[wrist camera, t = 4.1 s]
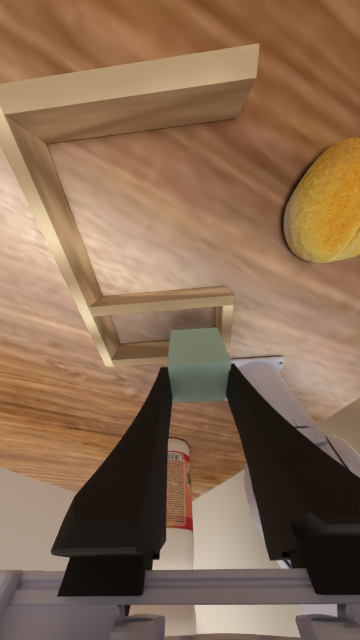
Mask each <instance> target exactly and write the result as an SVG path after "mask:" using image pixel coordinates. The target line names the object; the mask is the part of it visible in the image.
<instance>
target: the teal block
mask: <svg viewBox="0 0 360 640" xmlns="http://www.w3.org/2000/svg"><path fill="white" fill-rule="evenodd" d="M167 366H168V372H169V378H170V384H171V390H172V396H173V403H179V402H199V401H219V400H226V398H227V397H226V389H227V382H228V374H229V371H230V369H231V359H230V357H229V355H228V352H227V350H226V347H225V345H224V343H223V340H222V338H221V336H220V333H219V331H218V328H217V327H212V328H197V329H181V330H171V332H170V343H169V354H168V365H167Z"/></svg>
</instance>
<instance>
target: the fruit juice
mask: <svg viewBox="0 0 360 640" xmlns="http://www.w3.org/2000/svg"><path fill="white" fill-rule="evenodd" d="M193 559H194V540H193V521H192V497H191V474H190V452H189V447H188V444H187V443H186V442H184V441H182V440H180V439H175V438H168V461H167V512H166V542H165V544H164V545H163V547H162V549H161V550H160V559H159V560H153V567H152V570H192V569H193ZM135 614H155V615H163V616H164V617H165V637H166V636H180V635H194V634H196V615H195V608H194V605H131V606H130V611H129V615H128V616H130V615H135Z"/></svg>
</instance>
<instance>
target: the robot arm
mask: <svg viewBox="0 0 360 640" xmlns="http://www.w3.org/2000/svg"><path fill="white" fill-rule="evenodd" d="M284 361H285V358H284V357H282V356H278V357H263V358H247V359H232V360H231V369H230V371H229V374H228V382H227V389H226V397H227V398H226V400H228V403H229V406H230V409H231V412H232V414H233V417H234V420H235V423H236V426H237V429H238V432H239V435H240V438H241V442H242V446H243V450H244V453H245V457H246V461H247V463H246V465H245V477H244V478H245V479H244V481H245V490H246V495H247V499H248V503H249V507H250V510H251V513H252V516H253V519H254V521H255V524H256V526H257V529H258V531H259V533H260V535H261V537H262V539H263V541H264V542H265V544H266V548H267V551H268V554H269V558H270V560H276V561H277V562H278V564H279V565H280V567H281V569H217V570H215V569H213V570H212V569H211V570H152V567H153V560H159V559H160V550H161V549H162V547H163V545H164V544H165V542H166V512H167V461H168V437H169V427H170V418H171V408H172V390H171V384H170V378H169V372H168V367H162V368H160V371H159V374H158V376H157V378H156V381H155V383H154V385H153V387H152V389H151V391H150V393H149V395H148V397H147V399H146V401H145V403H144V404H143V406H142V408H141V410H140V411H139V413H138V415H137V416H136V418H135V420H134V421H133V423H132V424H131V426H130V427H129V429H128V430H127V431H126V433H125V434H124V436H123V437H122V439H121V440H120V441H119V443H118V444H117V445H116V447H115V448H114V449H113V451H112V452H111V453H110V455H109V456H108V457H107V458H106V460H105V461H104V462H103V463H102V465H101V466H100V467H99V468H98V470H97V471H96V472H95V473H94V474H93V475H92V477H91V478H90V479H89V480H88V481H87V482H86V484H85V485H84V486H83V487H82V488H81V490H80V491H79V492H78V493H77V494H76V496H75V497H74V499H73V501H72V503H71V505H70V507H69V509H68V512H67V514H66V516H65V518H64V520H63V522H62V525H61V527H60V530H59V532H58V535H57V537H56V540H55V542H54V544H53V547H52V549H51V553H52V555H56V556H63V557H70V560H69V562H68V565H67V569H66V571H22V570H0V640H360V456H359V455H358V454H357V452H356V451H355V450H354V449H353V448H352V447H351V445H350V444H349V443H348V442H347V441H346V440H344V439H342V438H340V437H337V436H336V435H334V434H330V435H327V436H326V435H325V434H324V433H323V432H322V431H321V430H320V429H319V427H318V426H317V424H316V423H315V422H314V420H313V419H312V418H311V416H310V415H309V413H308V412H307V411H306V409H305V408H304V407H303V405H302V404H301V402H300V401H299V400H298V398H297V397H296V396H295V394H294V393H293V392H292V390H291V389H290V387H289V386H288V385H287V383H286V382H285V381H284V379H283V378H282V376H281V375H280V372H281V370H282V367H283V364H284ZM232 604H233V605H236V604H237V605H246V604H247V605H254V604H255V605H257V604H299V606H300V608H301V611H302V612H303V613H304V615H300V616H296V623H297V626H298V630H299V633H300V636H301V638H298V637H283V636H270V635H256V634H233V633H231V634H230V633H229V634H228V633H221V634H220V633H217V634H194V635H180V636H166V637H165V617H164V616H163V615H155V614H135V615H130V616H127V617H126V616H125V609H124V606H123V605H232Z"/></svg>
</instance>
